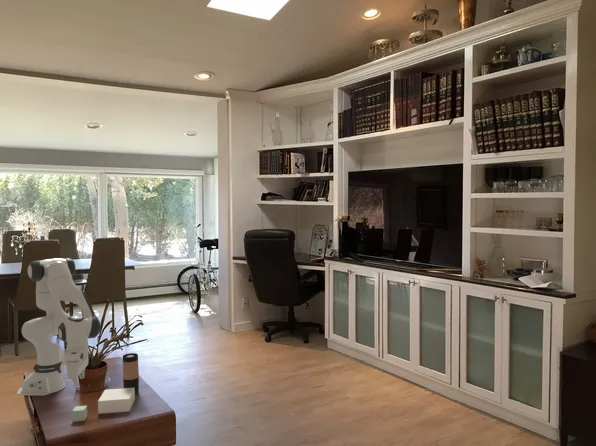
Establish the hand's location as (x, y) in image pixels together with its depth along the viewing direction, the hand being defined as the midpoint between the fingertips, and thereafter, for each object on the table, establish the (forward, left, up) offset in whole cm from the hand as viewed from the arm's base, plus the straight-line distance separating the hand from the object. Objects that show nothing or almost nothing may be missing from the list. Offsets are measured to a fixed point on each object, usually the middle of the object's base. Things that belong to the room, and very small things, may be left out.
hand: (79, 381), depth 222 cm
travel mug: (+18, +26, -17) cm, 36 cm away
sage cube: (0, 0, -17) cm, 17 cm away
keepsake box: (+14, +11, -17) cm, 25 cm away
